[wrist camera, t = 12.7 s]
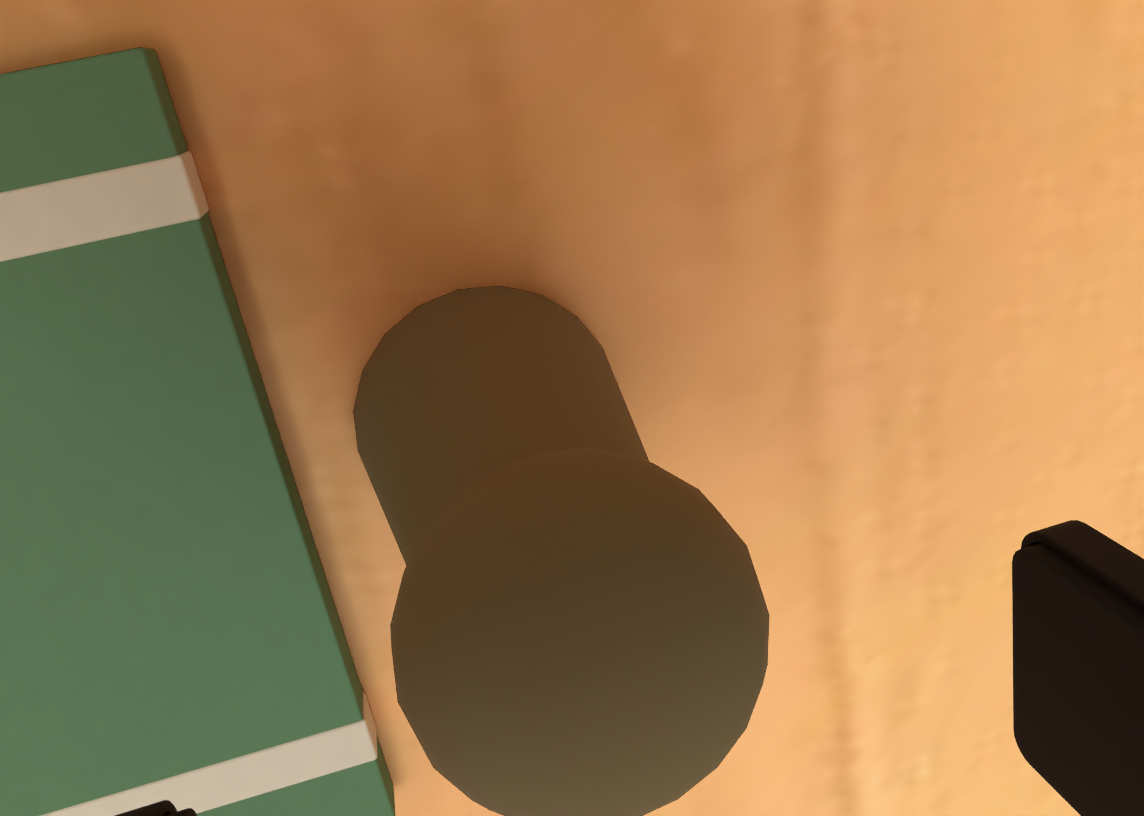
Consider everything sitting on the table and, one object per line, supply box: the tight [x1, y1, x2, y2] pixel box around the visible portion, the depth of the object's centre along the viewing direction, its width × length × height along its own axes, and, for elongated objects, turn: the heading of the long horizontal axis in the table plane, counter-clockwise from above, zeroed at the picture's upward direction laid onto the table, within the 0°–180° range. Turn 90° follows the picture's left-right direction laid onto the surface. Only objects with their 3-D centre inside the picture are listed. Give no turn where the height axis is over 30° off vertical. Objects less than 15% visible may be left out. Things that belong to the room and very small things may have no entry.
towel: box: [0, 48, 395, 816], centre depth 20 cm, size 18×12×1 cm
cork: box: [353, 286, 769, 816], centre depth 17 cm, size 6×6×11 cm
